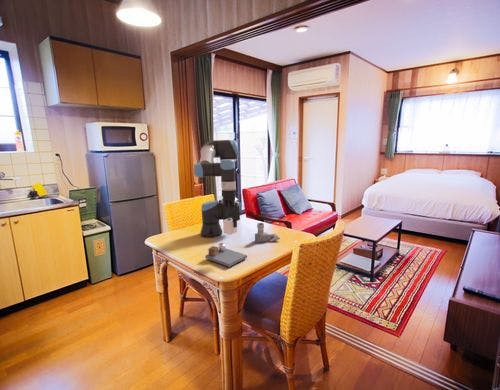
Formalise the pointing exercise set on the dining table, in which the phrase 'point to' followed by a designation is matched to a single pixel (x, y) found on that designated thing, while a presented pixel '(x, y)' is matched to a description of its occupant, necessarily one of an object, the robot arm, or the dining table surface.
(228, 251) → the grey flat block
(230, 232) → the plastic part
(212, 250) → the walnut part
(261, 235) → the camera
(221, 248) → the metal part
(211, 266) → the dining table surface
